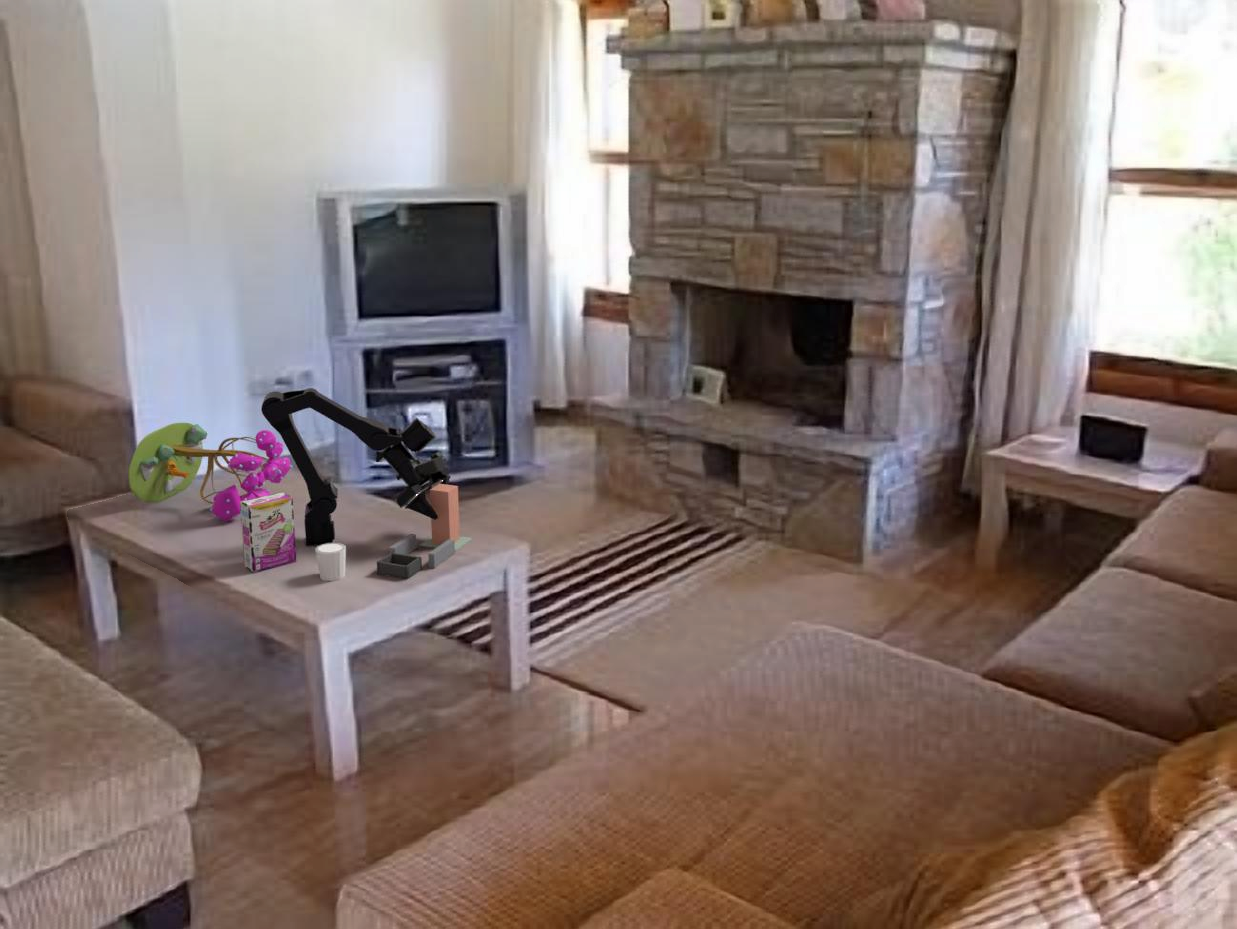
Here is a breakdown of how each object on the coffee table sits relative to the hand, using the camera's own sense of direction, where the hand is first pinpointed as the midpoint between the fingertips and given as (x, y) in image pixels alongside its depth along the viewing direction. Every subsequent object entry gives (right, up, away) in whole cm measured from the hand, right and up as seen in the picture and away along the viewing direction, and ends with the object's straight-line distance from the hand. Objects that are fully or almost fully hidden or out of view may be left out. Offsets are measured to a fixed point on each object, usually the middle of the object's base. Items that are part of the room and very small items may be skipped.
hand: (446, 512), depth 285 cm
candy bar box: (-39, -12, -12) cm, 43 cm away
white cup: (-23, -14, -18) cm, 33 cm away
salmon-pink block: (0, -7, +2) cm, 8 cm away
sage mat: (0, -7, +2) cm, 8 cm away
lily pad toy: (-65, 0, +27) cm, 70 cm away
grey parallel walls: (-4, -10, -7) cm, 13 cm away
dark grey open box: (-8, -13, -16) cm, 22 cm away
